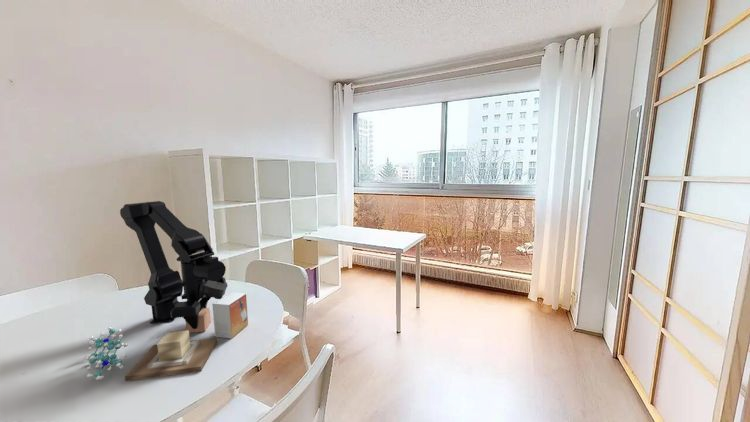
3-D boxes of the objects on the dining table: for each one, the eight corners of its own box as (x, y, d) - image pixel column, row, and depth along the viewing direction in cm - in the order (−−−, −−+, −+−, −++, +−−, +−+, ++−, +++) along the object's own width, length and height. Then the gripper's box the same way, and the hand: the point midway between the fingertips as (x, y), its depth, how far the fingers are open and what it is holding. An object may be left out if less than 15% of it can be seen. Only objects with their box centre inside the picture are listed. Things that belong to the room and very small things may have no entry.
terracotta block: (186, 333, 84) (185, 317, 84) (193, 324, 89) (191, 309, 88) (205, 331, 85) (203, 315, 85) (210, 322, 90) (209, 307, 90)
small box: (231, 339, 81) (228, 305, 80) (214, 337, 82) (211, 303, 81) (249, 324, 89) (246, 293, 88) (233, 322, 90) (230, 291, 89)
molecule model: (128, 341, 80) (124, 318, 79) (130, 374, 67) (126, 347, 66) (87, 354, 75) (83, 329, 74) (82, 392, 62) (77, 363, 61)
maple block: (159, 362, 70) (157, 344, 69) (169, 350, 75) (167, 332, 74) (182, 359, 71) (180, 341, 70) (190, 347, 76) (188, 330, 75)
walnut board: (125, 381, 65) (124, 373, 65) (153, 349, 77) (152, 342, 77) (201, 370, 69) (200, 363, 68) (217, 341, 80) (217, 335, 80)
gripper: (212, 285, 77) (217, 338, 80) (231, 263, 96) (235, 306, 98) (166, 289, 75) (172, 343, 77) (195, 266, 93) (199, 310, 96)
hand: (198, 323), depth 87 cm, fingers closed on terracotta block, 5 cm apart
